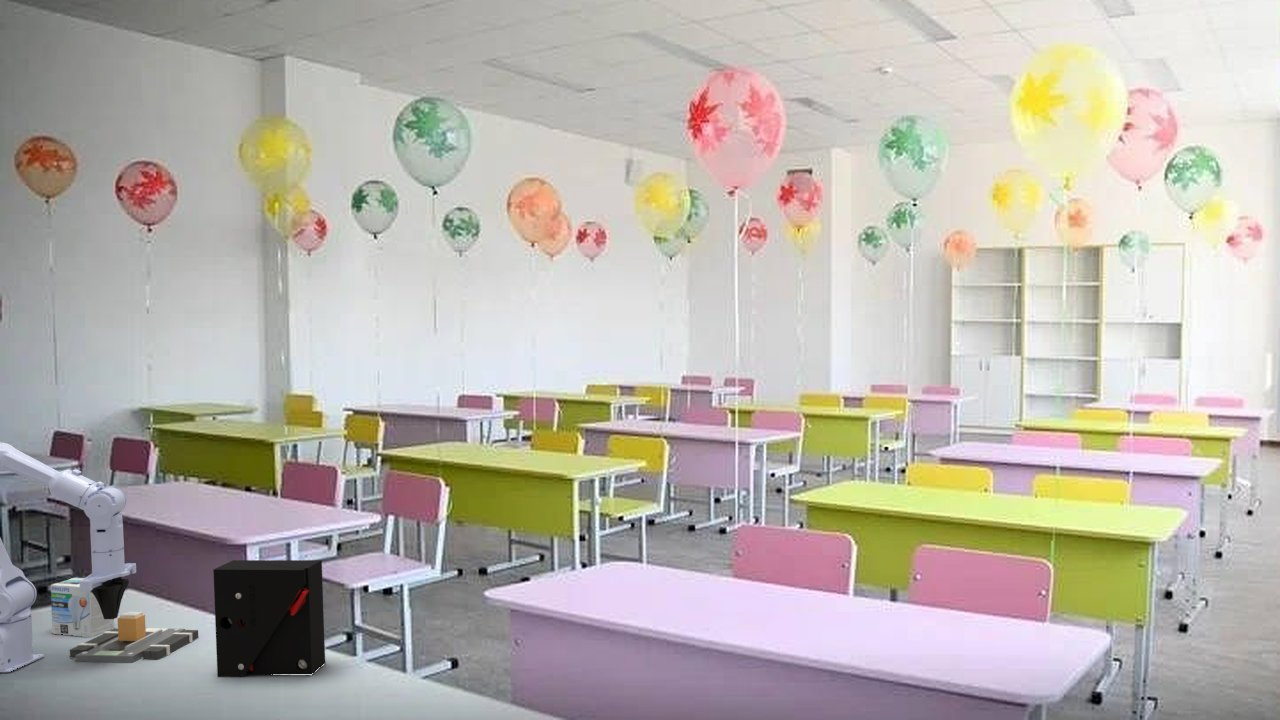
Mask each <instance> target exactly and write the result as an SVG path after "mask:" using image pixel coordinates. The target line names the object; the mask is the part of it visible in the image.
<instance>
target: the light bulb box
mask: <svg viewBox="0 0 1280 720" xmlns="http://www.w3.org/2000/svg"><path fill="white" fill-rule="evenodd" d="M85 578H86V577H85ZM85 578H84V577H72V578H70V579H67V580H63V581H60V582H59V581H58V582H55V583H52V584H50V603H51V604H50V605H51V633H53V635H61V634H63V635H65V636H71V635H73V637H81V636H82V637H83V638H92V636H93V637H95V636H98V635H101V634H103V632H105V631H108V630H109V631H111V629H112V630H113V629H115V619H104V617H103V614H102V611H101V609H100V606H99V603H98V601H97V599H96V598H95V596H94V595H93V593H92V592H91V591H80V581H81V580H83V579H85ZM100 633H101V634H100ZM97 634H98V635H97ZM82 637H81V638H82Z"/></svg>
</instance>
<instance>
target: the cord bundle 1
mask: <svg viewBox="0 0 1280 720" xmlns="http://www.w3.org/2000/svg"><path fill="white" fill-rule="evenodd" d="M117 636H118V628H114V629H112V630H109V631H105V632H103V633H101V634H99V635H97V636H96V637H94V638H92V639H90V640H88V641H86V642H83V643H77V645H76V646H75V647H73V648H70V649H69V658H70V657H72V658H71V659H75V655H77V654H79V653H81V652H86V651H88V650H90V649H93V648H96V647H98V646H99V645H101V644H103V643H105V642H107V641H109V640H111V639H113V638H115V637H117Z"/></svg>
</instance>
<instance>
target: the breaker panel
mask: <svg viewBox="0 0 1280 720" xmlns="http://www.w3.org/2000/svg"><path fill="white" fill-rule="evenodd" d="M145 628H146V636H145V637H143V638H141V639H139V640H137V641H118V636H117V637H115V638H113V639H111V640H109V641H107V642H105V643H103V644H101V645H99V646H98V647H96V648H93V649H90V650H88V651H86V652H81V653H79V654H77V655H75V658H74V659H75V662H87V663H88V662H89V663H90V662H91V663H92V662H93V663H96V662H97V663H130V664H131V663H134V662H137V661H138V660H140V659H143V651H144V650H146V649H148V648H149V646H150V645H155V644H157V643H159V642H161V641H163V640H165V639H167V638H169V637H171V636H173V633H178V632H180V631H182V630H186V628H168V627H167V628H165V627H164V628H162V627H160V628H159V627H158V628H157V627H154V628H153V627H150V628H149V627H145Z"/></svg>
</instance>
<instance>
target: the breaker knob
mask: <svg viewBox="0 0 1280 720" xmlns="http://www.w3.org/2000/svg"><path fill="white" fill-rule="evenodd" d="M146 628H147V627H146V615H145V614H143V611H126V612H124V613H122V614H120V615H119V617H117V629H118V641H137V640H139V639H141V638H143V637H145V636H146Z"/></svg>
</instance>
